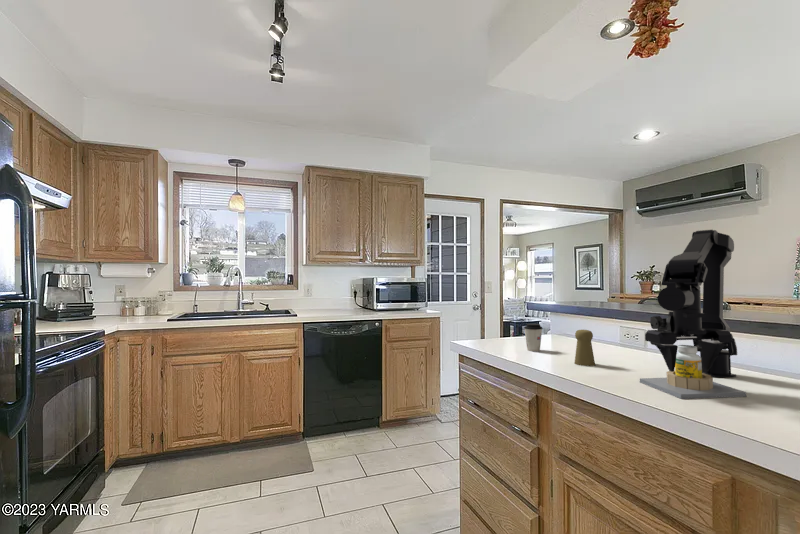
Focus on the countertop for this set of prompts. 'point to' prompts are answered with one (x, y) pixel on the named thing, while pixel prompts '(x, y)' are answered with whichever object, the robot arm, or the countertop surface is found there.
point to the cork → (584, 348)
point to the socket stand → (691, 387)
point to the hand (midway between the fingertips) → (688, 370)
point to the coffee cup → (533, 336)
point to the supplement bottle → (688, 362)
